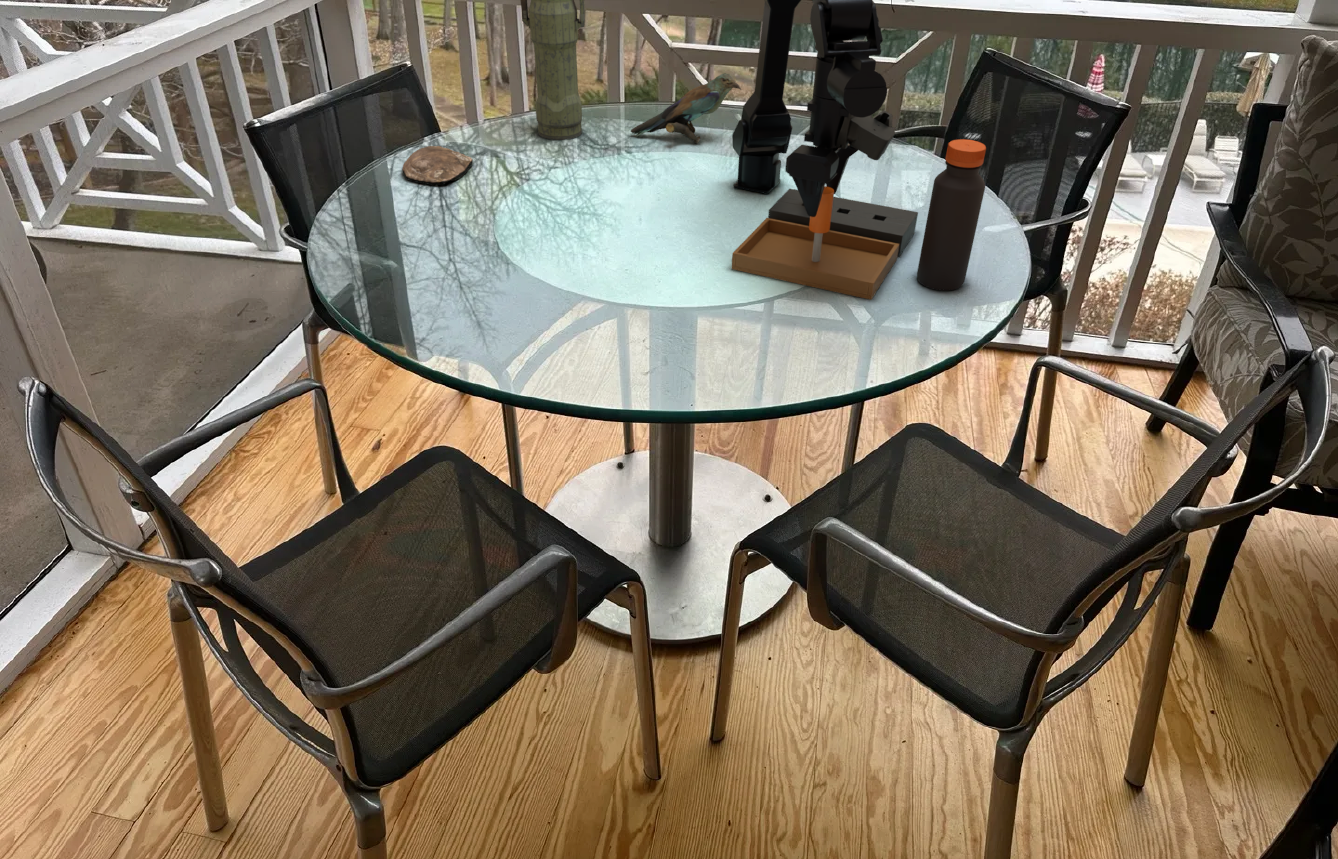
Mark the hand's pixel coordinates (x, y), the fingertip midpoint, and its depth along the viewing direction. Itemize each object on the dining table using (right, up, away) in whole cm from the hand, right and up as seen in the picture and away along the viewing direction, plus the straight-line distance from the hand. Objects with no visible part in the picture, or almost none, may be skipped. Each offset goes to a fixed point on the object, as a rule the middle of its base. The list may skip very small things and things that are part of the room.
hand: (822, 204), depth 134 cm
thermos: (-44, +27, +52) cm, 73 cm away
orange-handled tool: (0, -7, +5) cm, 9 cm away
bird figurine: (-19, +24, +49) cm, 58 cm away
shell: (-64, +14, +34) cm, 74 cm away
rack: (+5, -1, +15) cm, 16 cm away
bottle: (+17, -11, +2) cm, 21 cm away
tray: (0, -8, +6) cm, 10 cm away
